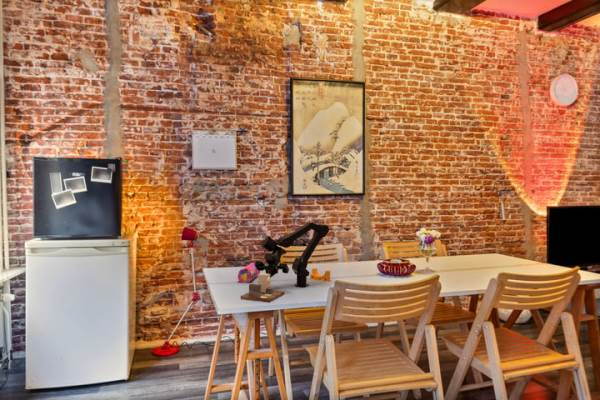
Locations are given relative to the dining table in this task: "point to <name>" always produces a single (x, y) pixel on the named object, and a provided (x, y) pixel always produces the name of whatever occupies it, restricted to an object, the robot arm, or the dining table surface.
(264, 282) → the block
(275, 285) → the dining table surface
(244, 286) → the dining table surface
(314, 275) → the pipe clamp
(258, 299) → the gauge base
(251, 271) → the pencil case
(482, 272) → the dining table surface
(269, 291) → the reading marker
